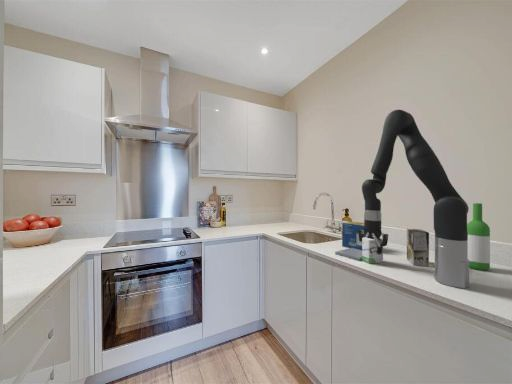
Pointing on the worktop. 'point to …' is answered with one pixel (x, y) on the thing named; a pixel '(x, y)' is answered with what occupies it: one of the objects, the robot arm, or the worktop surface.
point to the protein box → (352, 234)
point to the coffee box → (418, 247)
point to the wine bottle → (478, 241)
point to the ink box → (371, 251)
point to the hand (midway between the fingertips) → (372, 252)
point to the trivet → (351, 253)
